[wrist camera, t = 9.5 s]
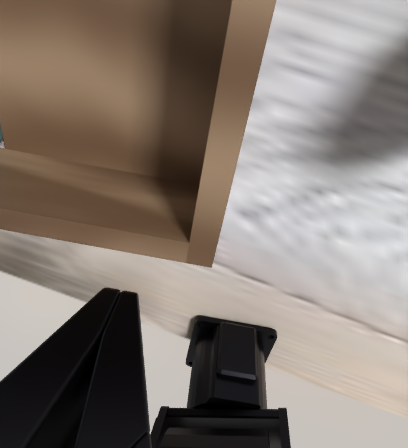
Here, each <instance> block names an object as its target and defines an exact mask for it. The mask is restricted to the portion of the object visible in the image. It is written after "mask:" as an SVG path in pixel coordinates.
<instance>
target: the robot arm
mask: <svg viewBox="0 0 408 448" xmlns="http://www.w3.org/2000/svg"><path fill="white" fill-rule="evenodd" d="M276 339H277V332H276V330H274V329H270V328H265V327H259V326H253V325H248V324H242V323H237V322H231V321H225V320H220V319H214V318H209V317H203V316H199V317H197V318H196V319H195V323H194V328H193V332H192V336H191V341H190V345H189V349H188V354H187V358H186V365H188V366H190V367H192V371H191V379H190V386H189V387H190V388H189V395H188V402H187V408H169V407H168V406H167V407H166V406H162V407H161V408H160V411H159V414H158V417H157V418H156V420H155V423H154V426H153V429H152V432H151V435H150V433H149V432H150V425H149V415H148V403H147V390H146V380H145V367H144V357H143V344H142V333H141V321H140V310H139V298H138V294H137V293H135V292H129V291H122V292H121V291H120V290H118V289H113V288H103V289H102V290H101V291H100V292H99V293H97V294H96V295H95V296H94V297H93V298H92V299H91V300H90V301H89V302H88V303H86V304H85V305H84V306H83V307H82V308H81V309H80V310H79V311H78V312H77V313H76V314H74V315H73V316H72V317H71V318H70V319H69V320H68V321H67V322H65V323H64V324H63V325H62V326H61V327H60V328H59V329H58V330H57V331H56V332H54V333H53V334H52V335H51V336H50V337H49V338H48V339H47V340H46V341H45V342H43V343H42V344H41V345H40V346H39V347H38V348H37V349H36V350H35V351H33V352H32V353H31V354H30V355H29V356H28V357H27V358H26V359H25V360H24V361H23V362H21V363H20V364H19V365H18V366H17V367H16V368H15V369H14V370H13V371H11V372H10V373H9V374H8V375H7V376H6V377H5V378H4V379H3V380H1V381H0V448H291V446H290V436H289V427H288V418H287V409H286V408H278V409H267V400H266V382H265V362H266V360H267V358H268V356H269V354H270V352H271V350H272V348H273V345H274V343H275V341H276Z"/></svg>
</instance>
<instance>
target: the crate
mask: <svg viewBox="0 0 408 448" xmlns="http://www.w3.org/2000/svg"><path fill="white" fill-rule="evenodd" d="M275 4H276V0H0V125H1V130H2V135H3V140H4V145H5V149H3V148H0V229H3V230H8V231H14V232H19V233H24V234H30V235H35V236H41V237H46V238H52V239H57V240H63V241H68V242H74V243H79V244H85V245H90V246H96V247H101V248H107V249H112V250H118V251H123V252H129V253H134V254H140V255H145V256H151V257H156V258H162V259H167V260H173V261H178V262H184V263H189V264H195V265H200V266H205V267H211V268H212V264H213V260H214V256H215V252H216V247H217V243H218V239H219V235H220V231H221V227H222V223H223V218H224V214H225V210H226V206H227V202H228V198H229V194H230V190H231V185H232V181H233V177H234V173H235V169H236V165H237V161H238V156H239V152H240V148H241V144H242V140H243V136H244V132H245V128H246V123H247V119H248V115H249V111H250V107H251V103H252V99H253V94H254V90H255V86H256V82H257V78H258V74H259V70H260V66H261V61H262V57H263V53H264V49H265V45H266V41H267V37H268V32H269V28H270V24H271V20H272V16H273V12H274V8H275Z"/></svg>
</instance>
